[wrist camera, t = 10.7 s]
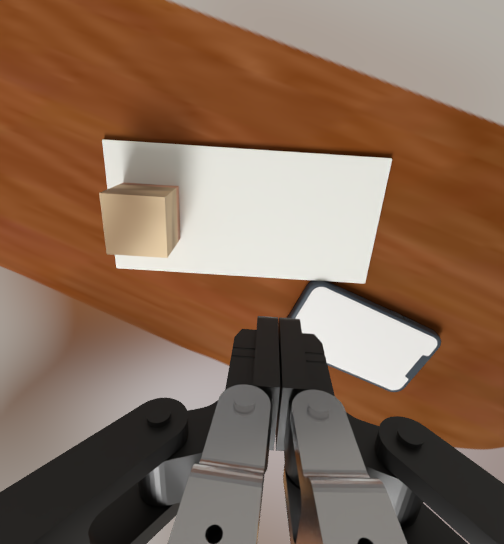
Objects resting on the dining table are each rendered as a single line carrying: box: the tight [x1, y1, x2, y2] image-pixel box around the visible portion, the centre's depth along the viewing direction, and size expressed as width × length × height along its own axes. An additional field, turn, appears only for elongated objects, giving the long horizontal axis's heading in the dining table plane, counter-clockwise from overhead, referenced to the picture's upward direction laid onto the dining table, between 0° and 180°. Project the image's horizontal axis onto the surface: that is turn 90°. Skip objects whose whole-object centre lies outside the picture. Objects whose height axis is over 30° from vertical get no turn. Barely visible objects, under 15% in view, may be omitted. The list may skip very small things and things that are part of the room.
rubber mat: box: [102, 139, 392, 283], centre depth 32 cm, size 25×12×1 cm, turn 86°
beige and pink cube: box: [99, 183, 180, 258], centre depth 29 cm, size 5×5×5 cm
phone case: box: [287, 280, 441, 392], centre depth 37 cm, size 9×2×16 cm
